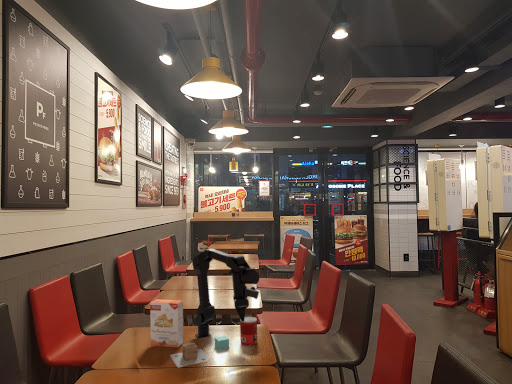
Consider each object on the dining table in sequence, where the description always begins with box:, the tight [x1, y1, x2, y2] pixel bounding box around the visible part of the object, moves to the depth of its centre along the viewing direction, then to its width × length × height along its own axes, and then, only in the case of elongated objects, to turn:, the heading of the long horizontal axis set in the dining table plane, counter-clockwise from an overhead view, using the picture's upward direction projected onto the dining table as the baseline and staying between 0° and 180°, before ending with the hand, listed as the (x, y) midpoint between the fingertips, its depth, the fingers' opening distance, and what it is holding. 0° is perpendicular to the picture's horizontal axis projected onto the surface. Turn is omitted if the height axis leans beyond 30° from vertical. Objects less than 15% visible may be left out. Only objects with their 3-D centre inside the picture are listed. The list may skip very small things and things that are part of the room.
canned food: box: [239, 316, 258, 346], centre depth 171 cm, size 8×8×11 cm
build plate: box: [169, 348, 212, 369], centre depth 153 cm, size 14×14×1 cm
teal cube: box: [214, 335, 230, 351], centre depth 164 cm, size 5×5×5 cm
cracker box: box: [149, 298, 184, 348], centre depth 169 cm, size 14×6×21 cm, turn 76°
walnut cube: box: [181, 342, 198, 361], centre depth 153 cm, size 5×5×5 cm
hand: (242, 318), depth 164 cm, fingers open, 9 cm apart
